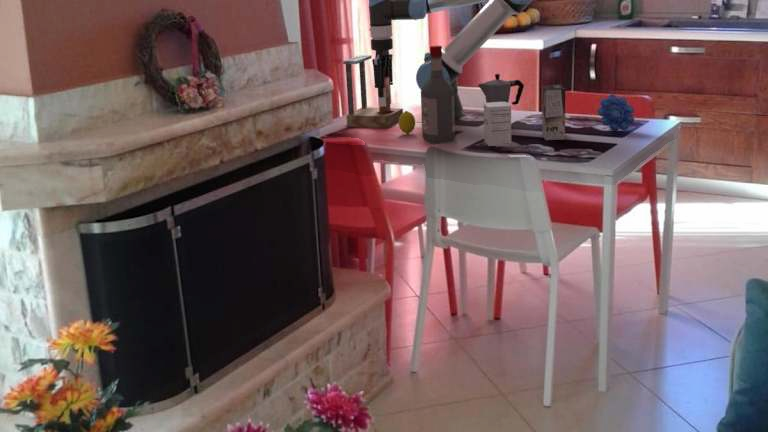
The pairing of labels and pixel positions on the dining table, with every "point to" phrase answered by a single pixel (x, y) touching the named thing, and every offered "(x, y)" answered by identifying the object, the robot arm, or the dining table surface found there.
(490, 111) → the supplement box
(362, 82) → the socket awning
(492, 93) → the coffeepot
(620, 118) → the blue flower
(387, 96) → the peg
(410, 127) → the lemon
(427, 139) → the liquor
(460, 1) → the robot arm
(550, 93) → the coffee box
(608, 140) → the dining table surface
